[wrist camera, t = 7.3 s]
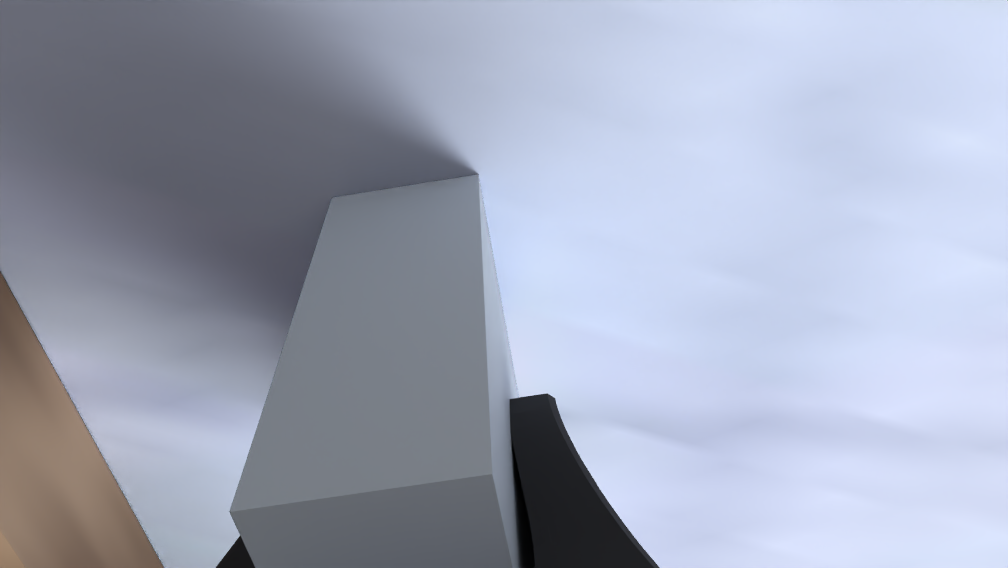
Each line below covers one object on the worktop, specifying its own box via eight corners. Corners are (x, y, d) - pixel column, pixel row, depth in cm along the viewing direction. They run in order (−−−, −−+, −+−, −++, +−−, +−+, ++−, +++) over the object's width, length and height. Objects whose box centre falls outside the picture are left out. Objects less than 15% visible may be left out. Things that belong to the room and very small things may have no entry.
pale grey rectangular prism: (526, 441, 17) (564, 805, 11) (407, 458, 17) (376, 829, 11) (478, 174, 13) (493, 473, 7) (332, 197, 14) (229, 510, 8)
